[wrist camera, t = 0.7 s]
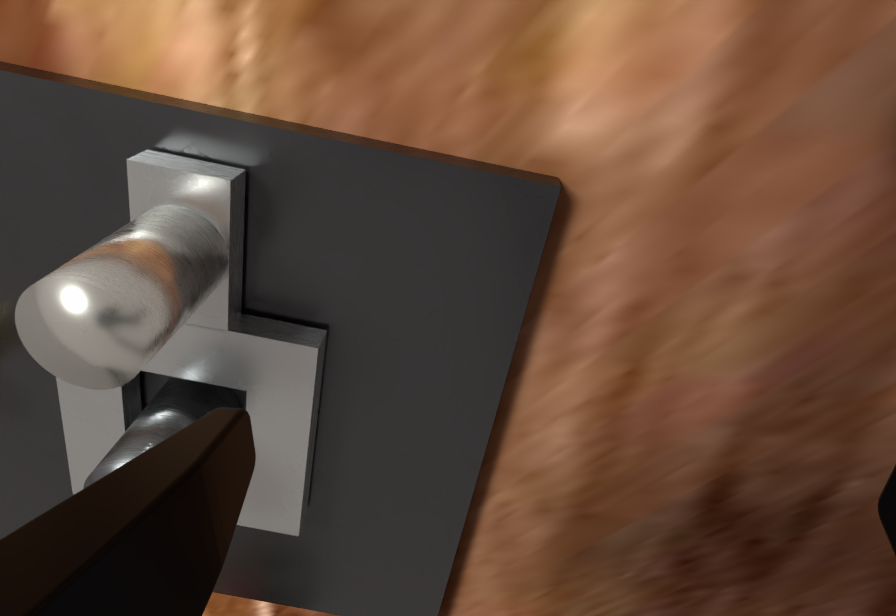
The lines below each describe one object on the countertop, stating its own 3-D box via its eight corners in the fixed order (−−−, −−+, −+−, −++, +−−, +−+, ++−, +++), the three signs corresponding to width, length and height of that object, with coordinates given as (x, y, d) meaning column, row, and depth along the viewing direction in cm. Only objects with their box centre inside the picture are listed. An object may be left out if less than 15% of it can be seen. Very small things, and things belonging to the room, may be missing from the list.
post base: (434, 613, 29) (422, 750, 24) (-19, 529, 29) (-134, 651, 23) (558, 177, 19) (583, 249, 14) (-145, 31, 18) (-403, 48, 13)
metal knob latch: (306, 513, 25) (254, 662, 20) (90, 472, 25) (-26, 611, 19) (342, 189, 18) (277, 275, 13) (48, 129, 18) (-147, 190, 13)
